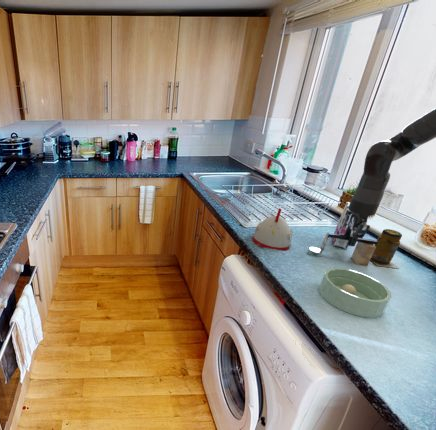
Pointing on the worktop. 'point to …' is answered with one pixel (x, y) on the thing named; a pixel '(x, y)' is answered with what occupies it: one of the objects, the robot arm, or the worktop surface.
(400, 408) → the worktop surface
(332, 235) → the ladle
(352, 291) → the dumpling
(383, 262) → the condiment
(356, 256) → the brown wooden block
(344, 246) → the candy bar box
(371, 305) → the bowl
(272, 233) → the cream dome hat
